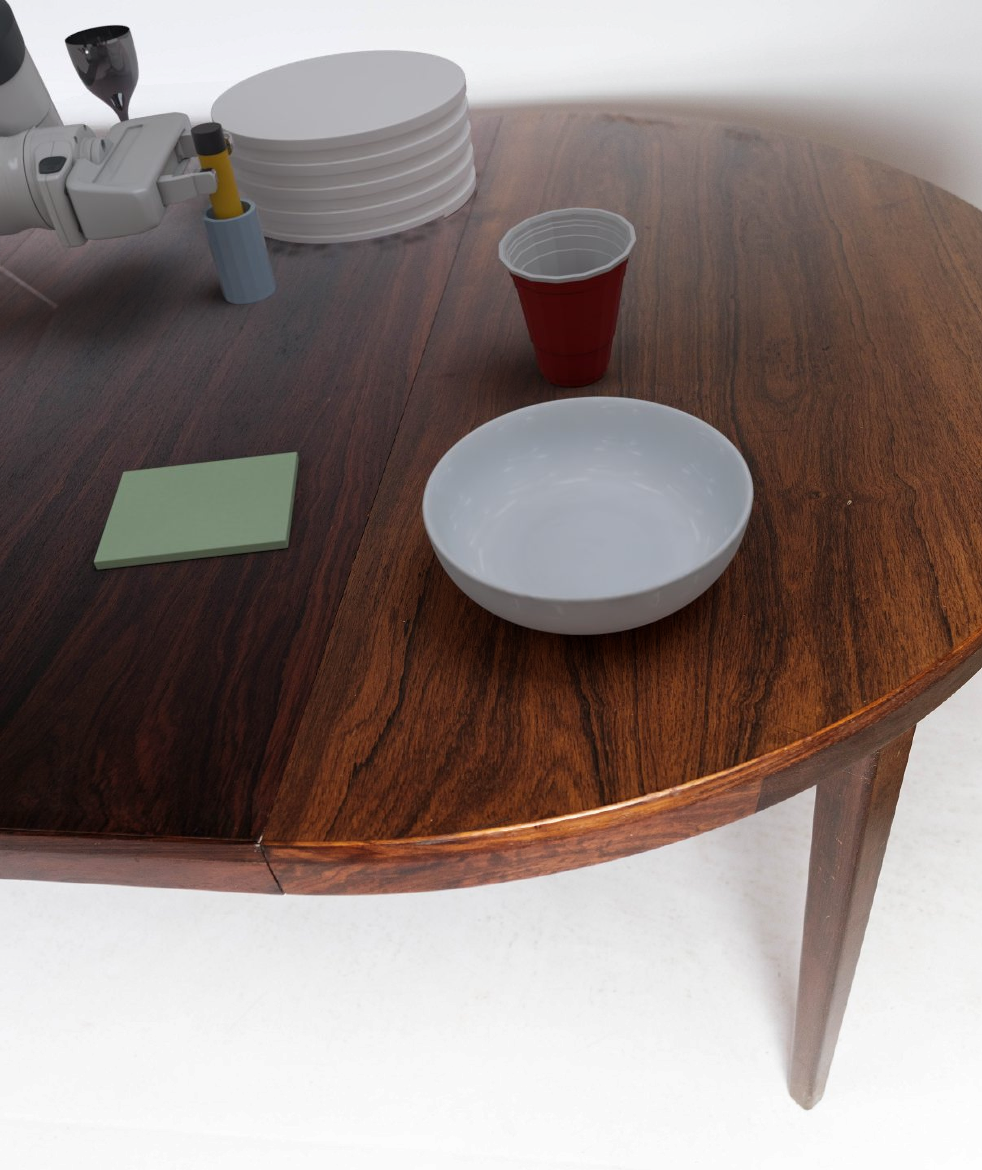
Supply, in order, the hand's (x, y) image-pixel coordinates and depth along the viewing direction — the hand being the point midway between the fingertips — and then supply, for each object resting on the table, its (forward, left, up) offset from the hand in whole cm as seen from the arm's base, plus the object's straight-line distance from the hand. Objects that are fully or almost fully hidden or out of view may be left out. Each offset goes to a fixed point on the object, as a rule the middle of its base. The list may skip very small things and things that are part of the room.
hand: (224, 161), depth 97 cm
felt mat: (-1, -35, -13) cm, 38 cm away
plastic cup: (+29, -21, -14) cm, 39 cm away
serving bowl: (+27, -46, -14) cm, 55 cm away
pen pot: (-1, 0, -13) cm, 14 cm away
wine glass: (-21, +44, -14) cm, 51 cm away
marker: (-1, 0, -13) cm, 13 cm away
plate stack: (+9, +23, -14) cm, 28 cm away
